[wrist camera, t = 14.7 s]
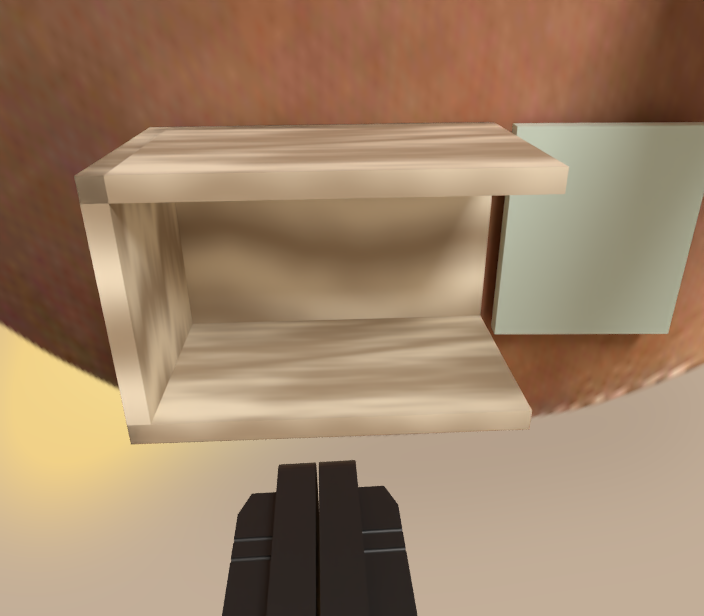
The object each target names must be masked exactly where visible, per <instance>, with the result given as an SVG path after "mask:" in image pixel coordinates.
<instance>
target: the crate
mask: <svg viewBox="0 0 704 616" xmlns="http://www.w3.org/2000/svg"><path fill="white" fill-rule="evenodd" d="M568 172H569V166H567V165H565V164H564V163H562V162H560V161H559V160H557V159H555V158H553V157H552V156H550V155H548V154H547V153H545V152H543V151H542V150H540V149H538V148H537V147H535V146H533V145H532V144H530V143H528V142H526V141H525V140H523V139H521V138H520V137H518V136H516V135H515V134H513V133H511V132H510V131H508V130H506V129H504V128H503V127H501V126H499V125H498V124H496V123H494V122H463V123H398V124H333V125H269V126H204V127H150V128H148V129H147V130H145V131H143V132H142V133H140V134H139V135H137V136H136V137H134V138H133V139H131V140H129V141H128V142H126V143H125V144H123V145H122V146H120V147H119V148H117V149H115V150H114V151H112V152H111V153H109V154H108V155H106V156H105V157H103V158H102V159H100V160H98V161H97V162H95V163H94V164H92V165H91V166H89V167H88V168H86V169H84V170H83V171H81V172H80V173H78V174H77V175H75V176H74V178H75V182H76V187H77V192H78V196H79V201H80V206H81V211H82V215H83V220H84V225H85V229H86V234H87V239H88V244H89V248H90V253H91V258H92V262H93V267H94V272H95V277H96V281H97V286H98V291H99V295H100V300H101V305H102V310H103V314H104V319H105V324H106V328H107V333H108V338H109V343H110V347H111V352H112V357H113V361H114V366H115V371H116V376H117V380H118V385H119V390H120V394H121V399H122V403H123V408H124V413H125V418H126V423H127V427H128V432H129V437H130V441H131V444H148V443H149V444H151V443H178V442H204V441H231V440H258V439H282V438H283V439H284V438H310V437H338V436H365V435H391V434H418V433H444V432H471V431H496V430H497V431H498V430H521V429H522V430H523V429H529V428H530V422H531V415H532V410H531V408H530V406H529V404H528V402H527V400H526V399H525V397H524V395H523V393H522V391H521V389H520V388H519V386H518V384H517V382H516V380H515V378H514V377H513V375H512V373H511V371H510V369H509V367H508V366H507V364H506V362H505V360H504V358H503V356H502V355H501V353H500V351H499V349H498V347H497V345H496V344H495V342H494V340H493V338H492V336H491V334H490V333H489V331H488V329H487V327H486V325H485V323H484V321H483V320H482V318H481V316H480V313H481V302H482V292H483V282H484V272H485V261H486V251H487V241H488V231H489V220H490V210H491V200H492V196H498V195H546V194H565V191H566V185H567V178H568Z"/></svg>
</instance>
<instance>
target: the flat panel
mask: <svg viewBox="0 0 704 616" xmlns="http://www.w3.org/2000/svg"><path fill="white" fill-rule="evenodd" d="M512 133H513V134H515V135H516V136H518V137H520V138H521V139H523V140H525V141H526V142H528V143H530V144H532V145H533V146H535V147H537V148H538V149H540V150H542V151H543V152H545V153H547V154H548V155H550V156H552V157H553V158H555V159H557V160H559V161H560V162H562V163H564V164H565V165H567V166H569V172H568V178H567V185H566V191H565V194H546V195H505V201H504V210H503V220H502V229H501V238H500V248H499V257H498V266H497V276H496V285H495V294H494V303H493V313H492V322H491V327H492V330H493V332H494V334H668V331H669V327H670V323H671V320H672V316H673V312H674V308H675V304H676V300H677V296H678V292H679V288H680V284H681V280H682V277H683V273H684V269H685V265H686V261H687V257H688V253H689V249H690V245H691V241H692V237H693V233H694V230H695V226H696V222H697V218H698V214H699V210H700V206H701V202H702V198H703V194H704V122H637V123H513V126H512Z"/></svg>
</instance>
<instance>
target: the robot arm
mask: <svg viewBox="0 0 704 616" xmlns="http://www.w3.org/2000/svg"><path fill="white" fill-rule="evenodd" d="M222 616H417V610H416V605H415V599H414V593H413V587H412V582H411V576H410V570H409V564H408V559H407V553H406V550H405V542H404V537H403V532H402V525H401V519H400V513H399V507H398V504H397V503H396V501H395V500H394V499H393V497H392V496H391V495H390V493H389V492H388V491H387V489H386V488H385V487H384V486H372V487H358V482H357V472H356V462H355V460H350V461H334V462H333V461H332V462H319V501H318V485H317V470H316V463H300V464H282V465H279V468H278V479H277V491H276V492H273V493H256V494H252V495H251V496H250V498H249V499H248V501H247V502H246V503H245V505H244V506H243V508H242V509H241V511H240V512H239V514H238V517H237V523H236V530H235V536H234V543H233V549H232V555H231V563H230V568H229V574H228V581H227V587H226V594H225V600H224V607H223V613H222Z"/></svg>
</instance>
